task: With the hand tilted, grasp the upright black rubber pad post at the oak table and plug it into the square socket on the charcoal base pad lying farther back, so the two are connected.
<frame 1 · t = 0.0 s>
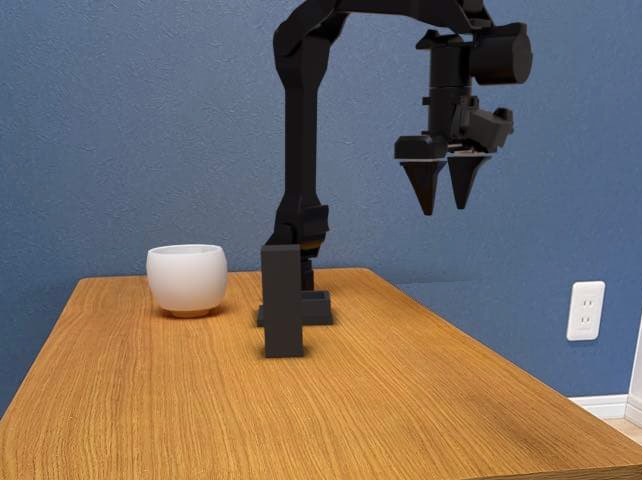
hand: (445, 212, 121), 15 cm above the table, tool pointing down, fingers open, 9 cm apart
cup: (190, 315, 134), on the table
base pad: (294, 307, 136), on the table
pad post: (284, 352, 110), on the table
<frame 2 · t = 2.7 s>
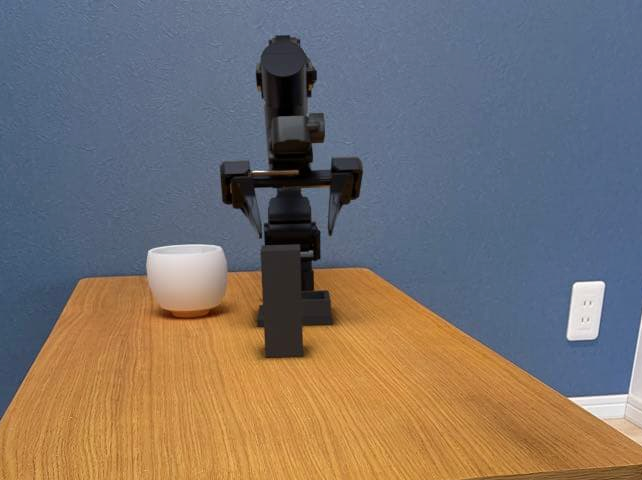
hand: (295, 235, 112), 13 cm above the table, tool tilted 40°, fingers open, 9 cm apart
nothing on the table moved.
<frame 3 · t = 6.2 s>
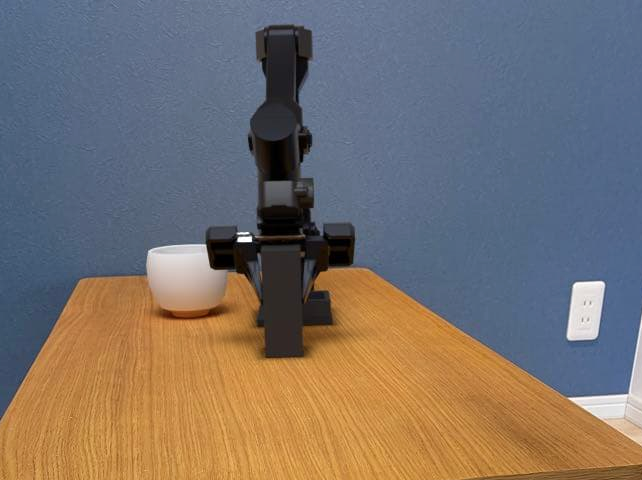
hand: (282, 302, 106), 7 cm above the table, tool tilted 45°, fingers closed on pad post, 5 cm apart
pad post: (284, 352, 110), on the table, touching gripper
everything else where it was.
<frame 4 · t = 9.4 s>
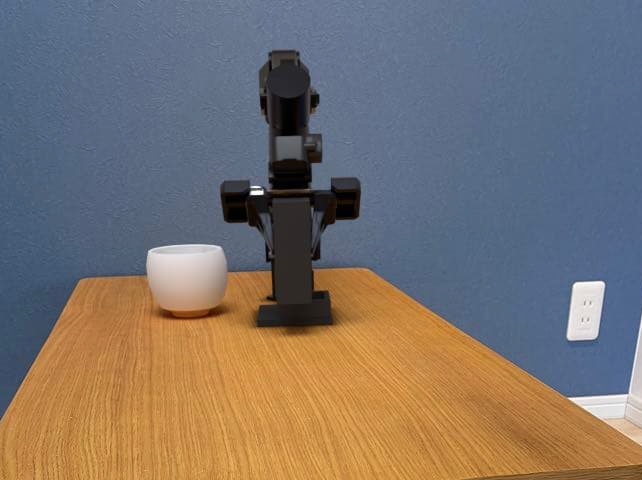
hand: (292, 252, 113), 11 cm above the table, tool tilted 45°, fingers closed on pad post, 5 cm apart
pad post: (294, 300, 117), point 5 cm above the table, touching gripper
everything else where it was.
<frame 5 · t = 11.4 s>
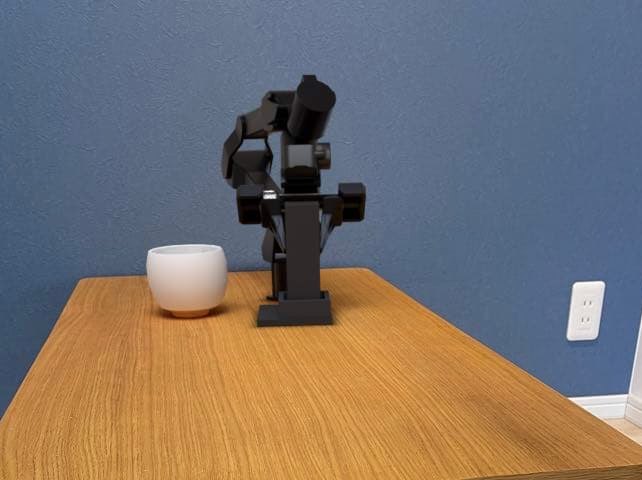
hand: (302, 251, 123), 10 cm above the table, tool tilted 45°, fingers closed on pad post, 5 cm apart
pad post: (303, 296, 127), point 3 cm above the table, touching gripper
everything else where it was.
when the fingers open (8 cm above the table, at t = 12.6 s): pad post stays where it is, resting on base pad.
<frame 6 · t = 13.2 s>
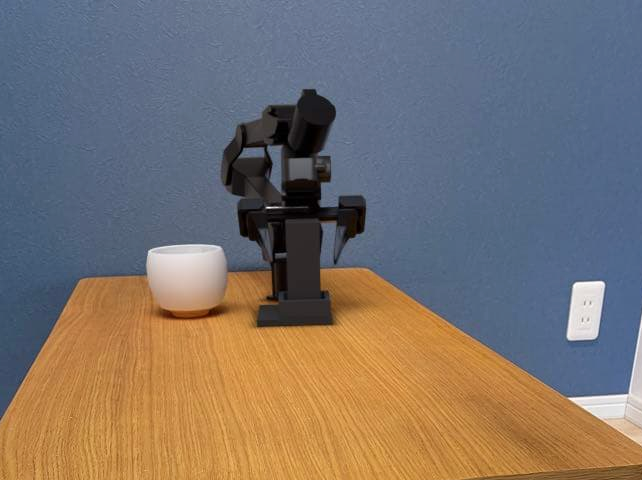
hand: (303, 264, 123), 8 cm above the table, tool tilted 45°, fingers open, 9 cm apart
pad post: (304, 312, 128), point 1 cm above the table, touching base pad
everything else where it was.
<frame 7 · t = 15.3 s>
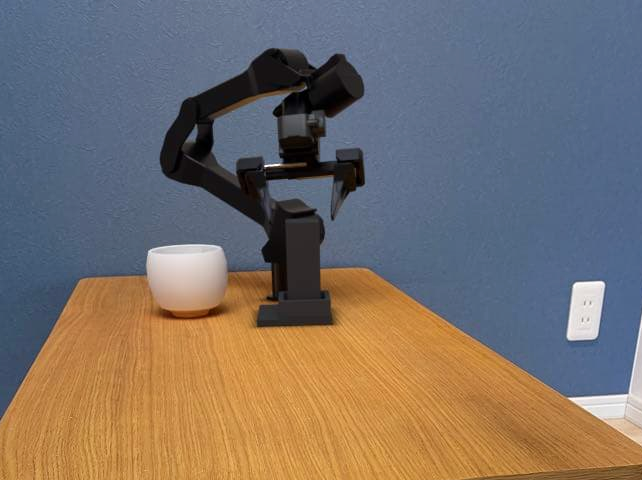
hand: (301, 221, 125), 14 cm above the table, tool tilted 40°, fingers open, 9 cm apart
nothing on the table moved.
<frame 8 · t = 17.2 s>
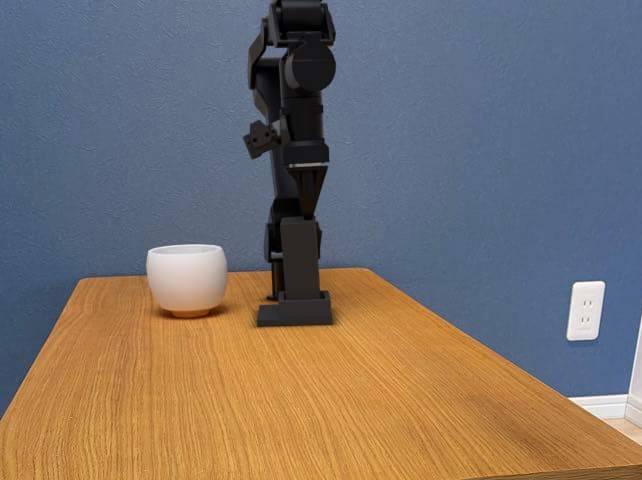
hand: (307, 218, 124), 14 cm above the table, tool pointing down, fingers open, 8 cm apart
pad post: (304, 311, 127), point 1 cm above the table, tilted 5°, touching base pad, gripper
everything else where it was.
at the end: pad post 0.2 cm from the target spot on the base pad, point 1.3 cm above the base pad's base; pad post tilted 5°; the gripper is holding nothing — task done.
